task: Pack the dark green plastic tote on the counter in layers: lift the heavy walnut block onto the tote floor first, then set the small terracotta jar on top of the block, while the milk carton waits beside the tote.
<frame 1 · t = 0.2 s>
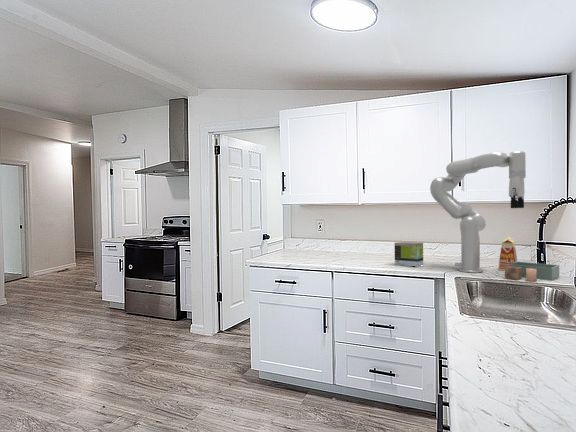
hand: (517, 208, 203), 36 cm above the counter, tool pointing down, fingers open, 9 cm apart
tea box: (408, 265, 245), on the counter
terracotta jar: (531, 281, 191), on the counter
milk carton: (508, 270, 223), on the counter
tote: (533, 276, 204), on the counter
walnut block: (513, 279, 197), on the counter
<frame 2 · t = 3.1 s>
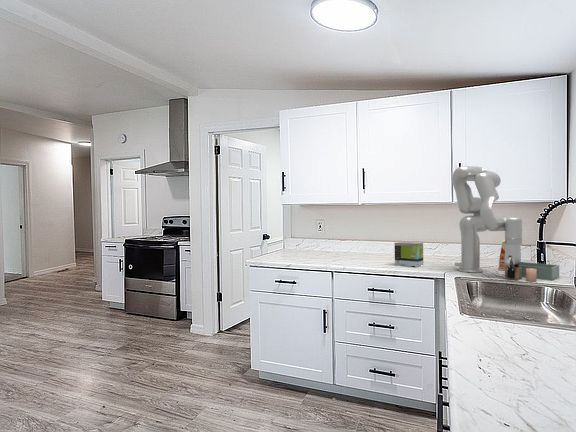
hand: (513, 276, 197), 1 cm above the counter, tool pointing down, fingers closed on walnut block, 6 cm apart
walnut block: (513, 278, 197), on the counter, touching gripper
everything else where it was.
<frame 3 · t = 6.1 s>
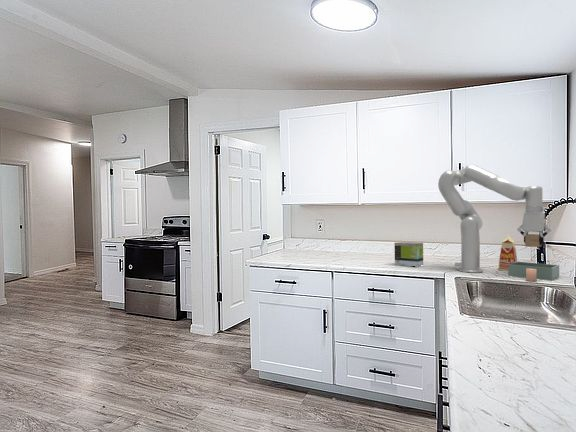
hand: (533, 243, 203), 17 cm above the counter, tool pointing down, fingers closed on walnut block, 6 cm apart
walnut block: (533, 246, 203), point 16 cm above the counter, touching gripper
everything else where it was.
when the fingers open (3 cm above the counter, at t = 9.0 s): walnut block drops 1 cm, resting on tote.
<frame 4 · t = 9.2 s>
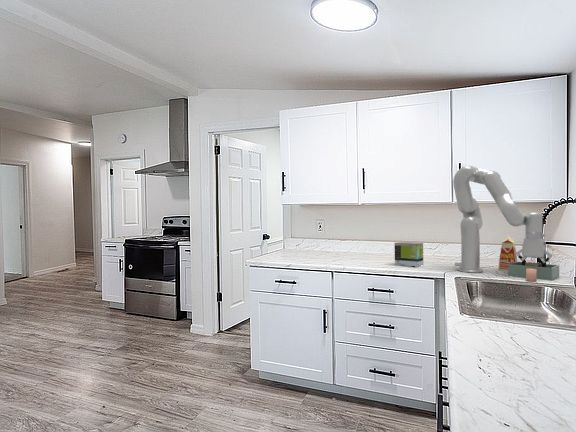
hand: (533, 269, 204), 4 cm above the counter, tool pointing down, fingers open, 8 cm apart
walnut block: (533, 274, 204), point 1 cm above the counter, touching tote
everything else where it was.
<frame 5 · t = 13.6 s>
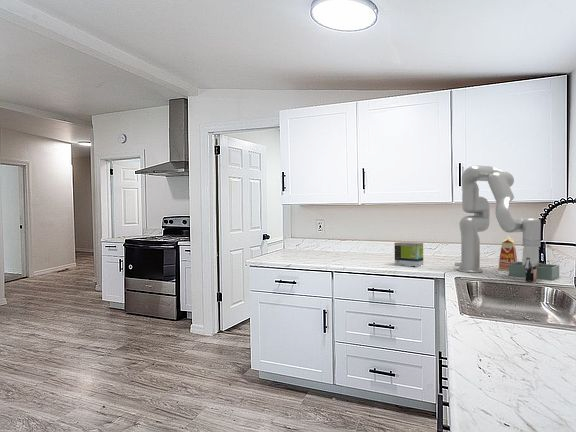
hand: (531, 279, 191), 1 cm above the counter, tool pointing down, fingers closed on terracotta jar, 4 cm apart
terracotta jar: (531, 281, 191), on the counter, touching gripper
everything else where it was.
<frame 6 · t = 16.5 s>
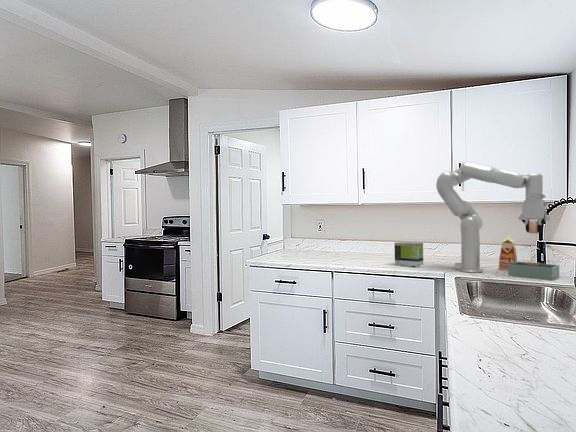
hand: (533, 232, 203), 23 cm above the counter, tool pointing down, fingers closed on terracotta jar, 4 cm apart
terracotta jar: (533, 233, 203), point 23 cm above the counter, touching gripper
everything else where it was.
when the fingers open (9 cm above the counter, at t = 19.6 s): terracotta jar drops 1 cm, resting on walnut block.
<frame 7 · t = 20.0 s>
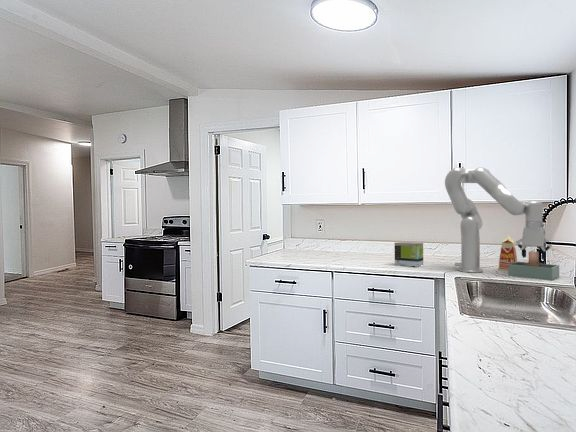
hand: (533, 257, 203), 10 cm above the counter, tool pointing down, fingers open, 8 cm apart
terracotta jar: (533, 263, 203), point 7 cm above the counter, touching walnut block
walnut block: (533, 274, 204), point 1 cm above the counter, touching terracotta jar, tote
everything else where it was.
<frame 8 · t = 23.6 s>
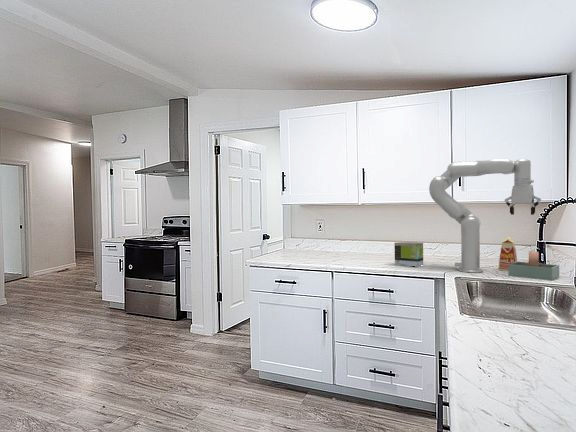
hand: (522, 214, 209), 32 cm above the counter, tool pointing down, fingers open, 9 cm apart
nothing on the counter moved.
at the end: walnut block inside the target area on the tote (0.2 cm from its centre), point 0.8 cm above the tote's base; terracotta jar 0.1 cm off-centre on the walnut block, point 6.0 cm above the walnut block's base; terracotta jar tilted 1° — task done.
